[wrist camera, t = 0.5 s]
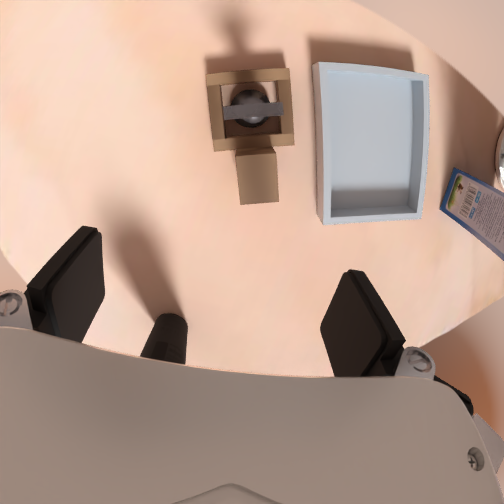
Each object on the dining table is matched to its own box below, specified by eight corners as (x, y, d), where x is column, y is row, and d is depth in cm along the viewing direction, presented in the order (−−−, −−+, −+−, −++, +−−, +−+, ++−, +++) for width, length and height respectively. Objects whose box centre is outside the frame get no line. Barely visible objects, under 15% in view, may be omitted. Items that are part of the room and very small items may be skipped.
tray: (414, 75, 25) (428, 75, 22) (409, 209, 33) (421, 219, 31) (311, 65, 25) (318, 61, 23) (317, 214, 34) (323, 225, 31)
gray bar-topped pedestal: (269, 88, 27) (281, 82, 18) (272, 125, 29) (285, 135, 20) (228, 92, 27) (220, 86, 18) (232, 128, 29) (226, 140, 20)
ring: (286, 70, 26) (296, 63, 20) (293, 182, 32) (303, 200, 26) (208, 76, 26) (199, 70, 21) (220, 188, 32) (215, 207, 27)
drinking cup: (137, 320, 41) (97, 436, 24) (170, 297, 39) (134, 427, 21) (173, 349, 44) (150, 463, 27) (207, 330, 42) (194, 456, 24)
